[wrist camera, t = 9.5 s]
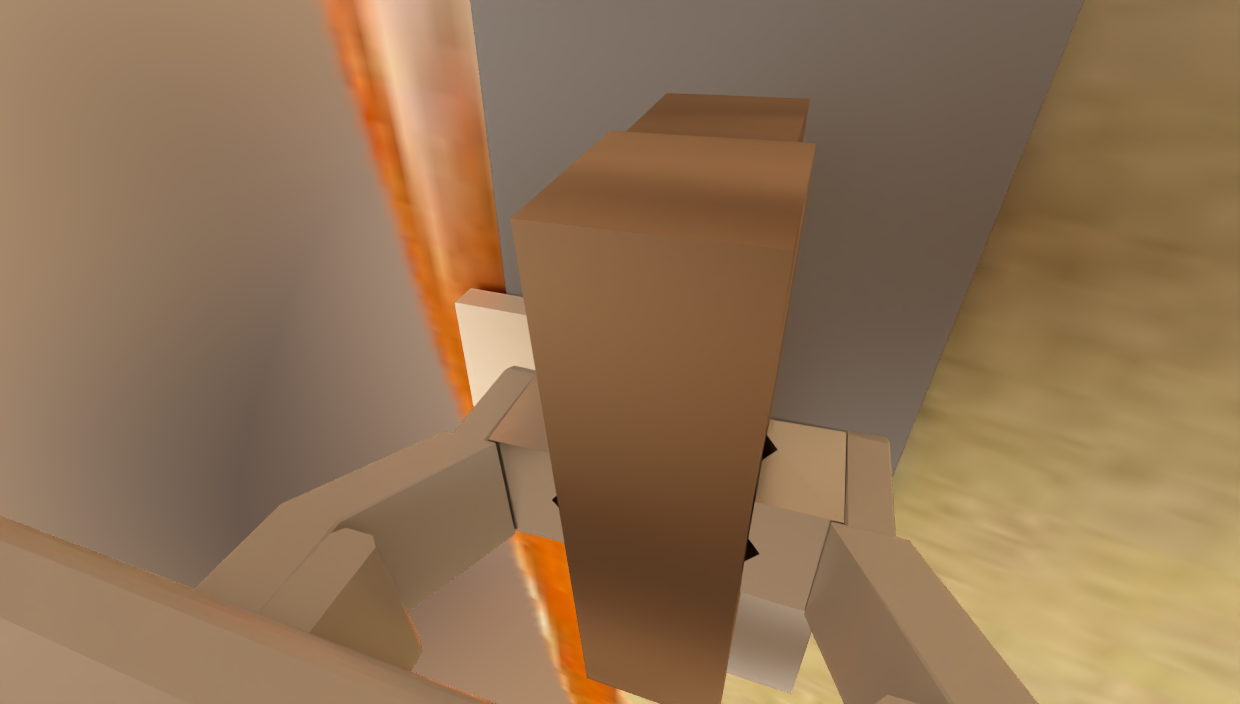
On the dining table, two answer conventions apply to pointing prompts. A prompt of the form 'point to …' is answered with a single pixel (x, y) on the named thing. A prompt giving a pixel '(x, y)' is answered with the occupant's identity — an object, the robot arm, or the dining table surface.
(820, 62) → the mat
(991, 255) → the dining table surface
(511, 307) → the tile
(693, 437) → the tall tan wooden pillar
